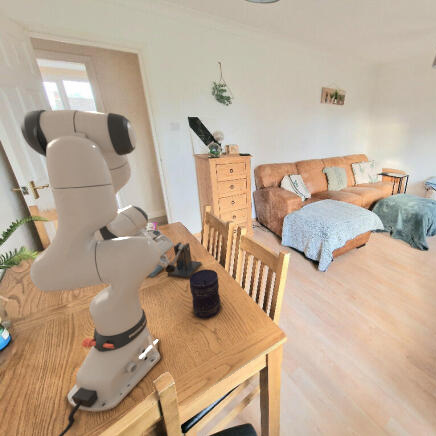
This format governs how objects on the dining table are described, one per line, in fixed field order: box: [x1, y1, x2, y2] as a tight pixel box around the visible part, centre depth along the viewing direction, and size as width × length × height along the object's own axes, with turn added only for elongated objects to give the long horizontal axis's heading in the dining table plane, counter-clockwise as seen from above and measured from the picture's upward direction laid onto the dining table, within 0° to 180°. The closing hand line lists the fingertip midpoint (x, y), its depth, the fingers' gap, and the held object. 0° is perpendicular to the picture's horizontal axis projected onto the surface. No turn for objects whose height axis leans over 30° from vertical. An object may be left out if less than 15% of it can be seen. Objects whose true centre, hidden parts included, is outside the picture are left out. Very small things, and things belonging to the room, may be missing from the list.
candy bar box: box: [144, 221, 159, 232], centre depth 123 cm, size 11×5×16 cm, turn 25°
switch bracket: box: [167, 241, 202, 280], centre depth 112 cm, size 12×10×14 cm
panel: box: [147, 258, 165, 278], centre depth 113 cm, size 12×10×4 cm
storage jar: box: [188, 269, 221, 320], centre depth 89 cm, size 10×10×15 cm
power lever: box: [165, 243, 185, 274], centre depth 106 cm, size 14×4×4 cm, turn 171°
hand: (167, 265), depth 102 cm, fingers closed, pressing on power lever
